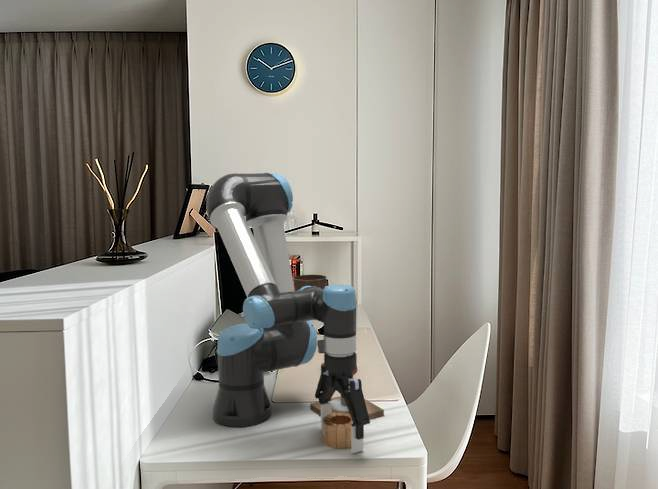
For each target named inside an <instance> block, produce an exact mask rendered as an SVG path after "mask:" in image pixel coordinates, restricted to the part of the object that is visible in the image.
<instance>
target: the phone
mask: <svg viewBox="0 0 658 489" xmlns="http://www.w3.org/2000/svg"><path fill="white" fill-rule="evenodd" d="M317 351H318V354H325V353H326V352H325V351H324V339H317Z"/></svg>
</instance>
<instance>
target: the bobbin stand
mask: <svg viewBox="0 0 658 489" xmlns="http://www.w3.org/2000/svg"><path fill="white" fill-rule="evenodd" d="M348 392H350V390H349V391H348ZM331 400H332V401H328V403H329V402H331V403H332V414H333V413H348V414H350V413H349V410H348V407H347V405H346V402H345V400H344V398H342V397H341V395H340V396H336V397H331ZM364 400H365V403H366V407H367V411H368V415H369V419H370V420H372V419H376V418H380V417H385V410H384V409H383V408H381V407H379V406H378V405H377V404H374V403H373V402H371V401H369V400H367V399H366V398H364ZM309 404H310V405H309V406H310V410H311V411H313V412H314V413H316V414H317V415H319V416H320V417H321V409H320V403H319V401H316V402H310V403H309Z"/></svg>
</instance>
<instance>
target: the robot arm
mask: <svg viewBox="0 0 658 489" xmlns="http://www.w3.org/2000/svg"><path fill="white" fill-rule="evenodd" d="M293 201H294V195H293V191H292V187H291V185H290V183H289V181H288V180H287V179H286V177H284V176H283V175H281V174H279V173H271V172H263V173H261V172H259V173H228V174H226V175H223V176H222V177H219V178H218V179H217V180H216V181H215V182H214V183H213V184H212V186H211V188H210V189H209V190H208V194H207V198H206V204H205V206H206V214H207V217H208V220H209V222H210V224H211V225H212V226H213V227H214V228H216V229H217V230H218V233H219V236H220V237H221V240H222V242H223V245H224V246H225V249H226V251H227V254H228V255H229V258H230V261H231V262H232V265H233V267H234V269H235V273H236V274H237V276H238V279H239V281H240V284H241V286H242V288H243V290H244V293H245V296H246V299H244V301H243V303H242V304H243V305H242V314H243V318H244V323H243V322H242V323H237V324H235V325H231V326H229V327H226V328H224V329H223V330H222V331H221V332H220V333H219V334H218V337H217V348H216V353H217V370H218V372H217V373H218V375H217V376H218V390H217V394H216V396H215V400H214V404H213V407H212V417H213V420H214V421H215V423H217V424H220V425H222V426H226V427H235V428H236V427H238V428H239V427H249V426H255V425H258V424H261V423H264V422H265V421H267V420H268V419H269V418H270V417H271V415H272V403H271V400H270V397H269V394H268V392H267V389H266V386H265V378H264V377H265V373H269V372H274V371H278V370H279V371H280V370H285V369H288V368H293V367H295V368H297V367H298V366H301V365H302V366H303V365H305V364H308V363H309V362H310V361H311V360H312V359H313V358H314V356H315V354H316V352H317V348H318V343H317V341H318V335H317V330H316V328H315V326H314V324H313V323H312V322H311V321H319V322H321V323H323V340H324V351H325V352H326V353H323V356H324V357H323V363H324V366H321V365H320V376H319V379H318V383H317V387H316V390H315V393H314V398H315V399H318V402H319V403H320V409H321V416H320V431H322V432H323V418H324V417H325V416H327V415H329V414H332V403H331V402H329V403H328V401H332V400H331V398H333V395H335V393H336V392H338V394H340V396H341V397H342V398H344V400H345V402H346V405H347V407H348V410H349V413H350V415H351V418H352V421H353V424H351V447H350V448H351V450H350V451H351V453H352V454H355V453H358V452H362V451H364V436H365V430H364V428H365V427H364V426H366V425H369V424H371V419H369V415H368V411H367V407H366V403H365V400H364V399H365V396H364V393H363V386H362V380H361V378H357V379H354V375H353V376H352V372H353V371H354V370H355V369H356V367H357V368H358V366H357V353H356V351H357V306H358V303H357V295H356V289H355V288H354V287H353V286H352V285H348V284H340V283H339V284H330V285H325V288H324V289H321V288H319V287H316V286H305V287H302V288H301V289H299V290H298V291H296V290H295V286H294V280H293V273H292V266H291V262H290V257H289V256H290V255H289V249H288V243H287V239H286V237H287V236H286V229H285V225H284V224H285V223H286V221H287V219H288V218H289V216H288V214H289V213H290V212H291V211H292V209H293ZM251 228H252V230H251ZM252 231H253V232H252ZM349 390H350V392H348V391H349Z"/></svg>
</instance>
